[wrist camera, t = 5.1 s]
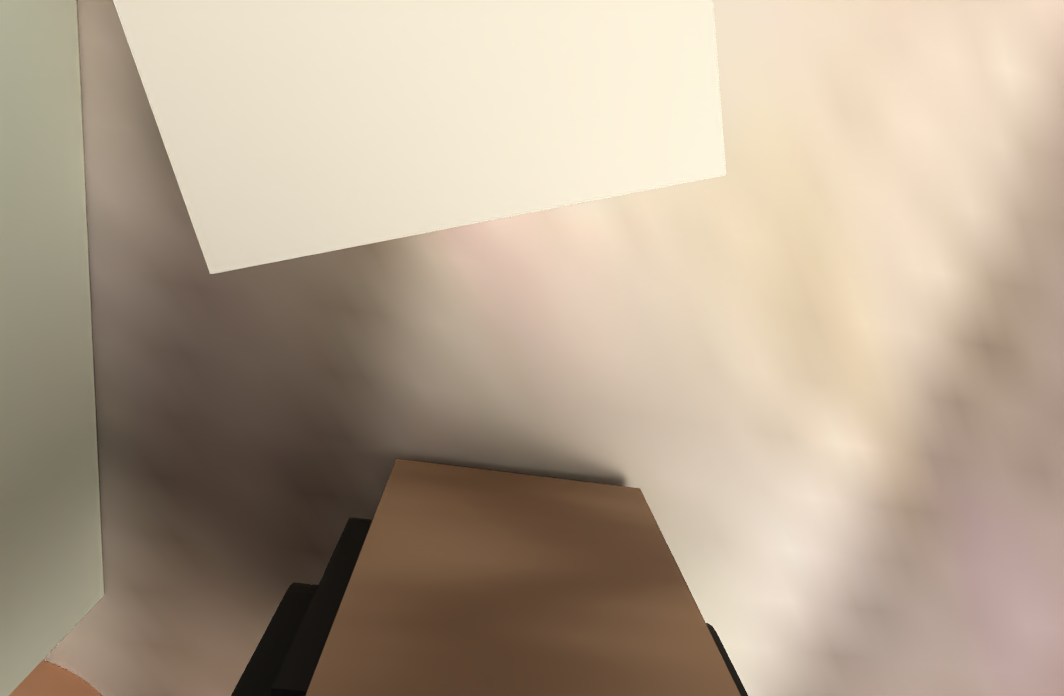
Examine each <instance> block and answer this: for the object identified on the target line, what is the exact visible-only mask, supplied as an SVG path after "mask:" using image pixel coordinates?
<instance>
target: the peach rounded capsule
mask: <svg viewBox="0 0 1064 696" xmlns="http://www.w3.org/2000/svg"><path fill="white" fill-rule="evenodd" d="M9 696H102V695H101V694H100V693H99V692H98V691H97V690H96V689H94V688H93V687H92V686H91V685H90V684H89V683H87V682H86V681H84V680H83V679H81V678H80V677H79V676H77V675H75V674H73V673H72V672H70V671H68V670H66V669H64V668H61V667H59V666H57V665H54V664H52V663H49V662H46V661H43V660H42V661H41V662H40V663H39V664H38V665H37V666H36V667H35V668H34V670H33V671H32V672H31V673H30V674H29V675H28V676H27V677H26V678H25V679H24V680H23V681H22V682H21V683H20V684H19V685H18V686H17V687H16V688H15V689H14V690H13V692H12V693H11V694H10V695H9Z"/></svg>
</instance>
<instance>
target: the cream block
mask: <svg viewBox="0 0 1064 696" xmlns="http://www.w3.org/2000/svg"><path fill="white" fill-rule="evenodd" d="M113 2H114V5H115V8H116V11H117V13H118V16H119V19H120V22H121V25H122V27H123V30H124V33H125V36H126V39H127V41H128V44H129V47H130V50H131V53H132V55H133V58H134V61H135V64H136V67H137V70H138V72H139V75H140V78H141V81H142V84H143V86H144V89H145V92H146V95H147V98H148V100H149V103H150V106H151V109H152V112H153V114H154V117H155V120H156V123H157V126H158V129H159V131H160V134H161V137H162V140H163V143H164V145H165V148H166V151H167V154H168V157H169V159H170V162H171V165H172V168H173V171H174V174H175V176H176V179H177V182H178V185H179V188H180V190H181V193H182V196H183V199H184V202H185V204H186V207H187V210H188V213H189V216H190V218H191V221H192V224H193V227H194V230H195V233H196V235H197V238H198V241H199V244H200V247H201V249H202V252H203V255H204V258H205V261H206V263H207V266H208V269H209V272H210V274H215V273H220V272H225V271H230V270H236V269H241V268H246V267H251V266H256V265H262V264H267V263H272V262H277V261H282V260H288V259H293V258H298V257H303V256H308V255H314V254H319V253H324V252H329V251H334V250H339V249H345V248H350V247H355V246H360V245H365V244H371V243H376V242H381V241H386V240H391V239H397V238H402V237H407V236H412V235H417V234H423V233H428V232H433V231H438V230H443V229H449V228H454V227H459V226H464V225H469V224H475V223H480V222H485V221H490V220H495V219H501V218H506V217H511V216H516V215H521V214H527V213H532V212H537V211H542V210H547V209H553V208H558V207H563V206H568V205H573V204H579V203H584V202H589V201H594V200H599V199H605V198H610V197H615V196H620V195H625V194H630V193H636V192H641V191H646V190H651V189H656V188H662V187H667V186H672V185H677V184H682V183H688V182H693V181H698V180H703V179H708V178H714V177H719V176H724V175H726V164H725V151H724V138H723V125H722V111H721V98H720V85H719V72H718V59H717V46H716V33H715V20H714V7H713V0H113Z"/></svg>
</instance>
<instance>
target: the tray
mask: <svg viewBox="0 0 1064 696" xmlns="http://www.w3.org/2000/svg"><path fill="white" fill-rule="evenodd" d="M103 596H104V582H103V561H102V539H101V517H100V496H99V474H98V452H97V431H96V409H95V388H94V366H93V344H92V323H91V301H90V279H89V258H88V236H87V214H86V193H85V171H84V150H83V128H82V106H81V85H80V63H79V41H78V20H77V0H0V696H9V695H10V694H11V693H12V692H13V690H14V689H15V688H16V687H17V686H18V685H19V684H20V683H21V682H22V681H23V680H24V679H25V678H26V677H27V676H28V675H29V674H30V673H31V672H32V671H33V670H34V668H35V667H36V666H37V665H38V664H39V663H40V662H41V661H42V660H43V659H44V658H45V657H46V656H47V655H48V654H49V653H50V652H51V651H52V650H53V649H54V648H55V646H56V645H57V644H58V643H59V642H60V641H61V640H62V639H63V638H64V637H65V636H66V635H67V634H68V633H69V632H70V631H71V630H72V629H73V628H74V627H75V626H76V624H77V623H78V622H79V621H80V620H81V619H82V618H83V617H84V616H85V615H86V614H87V613H88V612H89V611H90V610H91V609H92V608H93V607H94V606H95V605H96V604H97V602H98V601H99V600H100V599H101V598H102V597H103Z"/></svg>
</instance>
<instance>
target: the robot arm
mask: <svg viewBox="0 0 1064 696" xmlns="http://www.w3.org/2000/svg"><path fill="white" fill-rule="evenodd" d="M372 521H373V520H369V519H360V518H349V520H348V522H347V524H346V526H345V529H344V531H343V533H342V535H341V537H340V540H339V542H338V544H337V546H336V548H335V551H334V553H333V555H332V557H331V559H330V561H329V564H328V566H327V568H326V570H325V572H324V575H323V577H322V579H321V581H320V583H319V585H312V584H301V583H293V584H291V585H290V587H289V588H288V590H287V592H286V594H285V595H284V597H283V599H282V601H281V603H280V605H279V607H278V609H277V610H276V612H275V614H274V616H273V618H272V620H271V622H270V624H269V626H268V627H267V629H266V631H265V633H264V635H263V637H262V639H261V641H260V642H259V644H258V646H257V648H256V650H255V652H254V654H253V656H252V658H251V659H250V661H249V663H248V665H247V667H246V669H245V671H244V673H243V674H242V676H241V678H240V680H239V682H238V684H237V686H236V688H235V690H234V691H233V693H232V695H231V696H306V693H307V690H308V688H309V685H310V683H311V680H312V677H313V675H314V672H315V670H316V667H317V664H318V662H319V659H320V657H321V654H322V651H323V649H324V646H325V643H326V641H327V638H328V636H329V633H330V630H331V628H332V625H333V623H334V620H335V617H336V615H337V612H338V610H339V607H340V604H341V602H342V599H343V596H344V594H345V591H346V589H347V586H348V583H349V581H350V578H351V576H352V573H353V570H354V568H355V565H356V563H357V560H358V557H359V555H360V552H361V549H362V547H363V544H364V542H365V539H366V536H367V534H368V531H369V529H370V526H371V523H372ZM674 560H675V559H674ZM675 562H676V561H675ZM676 564H677V563H676ZM677 566H678V565H677ZM678 568H679V567H678ZM679 570H680V569H679ZM694 601H695V600H694ZM695 603H696V602H695ZM696 605H697V604H696ZM706 625H707V627H708V629H709V631H710V633H711V635H712V637H713V639H714V642H715V644H716V646H717V648H718V650H719V652H720V654H721V656H722V658H723V660H724V662H725V664H726V666H727V668H728V670H729V672H730V674H731V676H732V678H733V681H734V683H735V685H736V687H737V689H738V691H739V693H740V695H741V696H748V694H747V692H746V690H745V688H744V686H743V684H742V682H741V680H740V678H739V676H738V674H737V672H736V670H735V668H734V666H733V664H732V663H731V661H730V659H729V657H728V655H727V653H726V651H725V649H724V647H723V645H722V643H721V641H720V639H719V637H718V635H717V633H716V631H715V630H714V628H713V627H712V626H711V625H709V624H708V623H706Z"/></svg>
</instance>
